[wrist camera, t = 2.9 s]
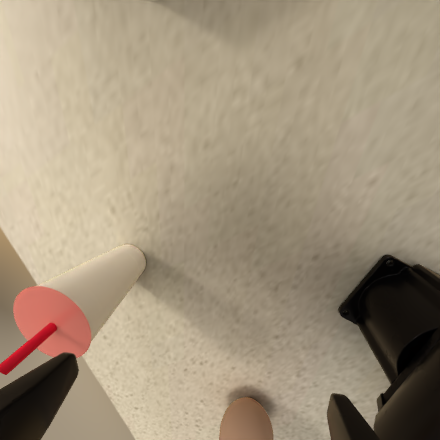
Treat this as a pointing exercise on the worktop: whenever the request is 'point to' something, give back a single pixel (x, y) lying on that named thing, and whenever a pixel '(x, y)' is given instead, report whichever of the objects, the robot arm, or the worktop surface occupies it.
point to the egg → (245, 421)
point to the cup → (74, 304)
